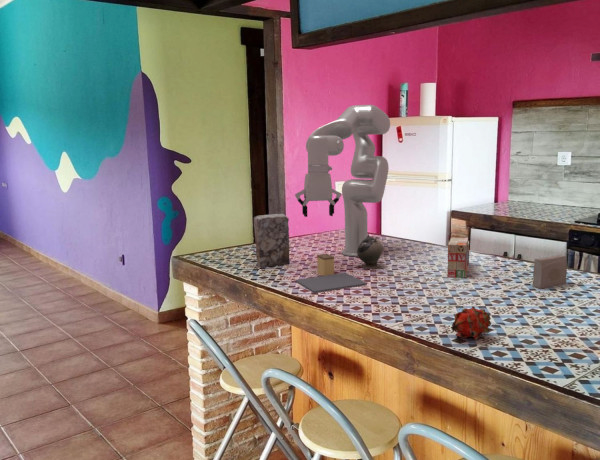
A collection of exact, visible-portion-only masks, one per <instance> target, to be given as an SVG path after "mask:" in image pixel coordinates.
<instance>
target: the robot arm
mask: <svg viewBox="0 0 600 460" xmlns="http://www.w3.org/2000/svg"><path fill="white" fill-rule="evenodd" d="M390 128H391V119H390V118H389V115H388V114H387V113H386V112H385V111H383V110H382V109H381V108H380V107H378V106H376V105H374V104H357V105H356V104H355V105H350V106H348V107H347V108H346V109H345V110H344V111H343V112H342V113H341V114H340V115H339V116H338V118H337V119H335V120H333V121H331V122H329V123H327V124H324V125H322V126H319V127H318V128H316V129H315V130H313V131H312V133H311V134H310V135H309V136H308V137H307V139H306V142H305V150H306V152H307V173H306V174H305V176H304V183H303V185H304V187H303V189H302V190H301V191H298V192H297V193H295V195H294V196H295V198H296V200H297V202H298V203H299V204H300V205H301V206H302V207H301V208H302V209H301V210H302V215H303V216H304V217H305V218H308V206H307V205H308V203H309V202H324V201H327V202H329V204H328V214H329V215H328V216H330V217H333V215H334V214H335V205H336V204H337V203H338V202H339V200H340V198H341V196H342V199H343V207H344V249H342V250H341V255H343V256H347V257H359V256H358V254H357V249H358V247H359V245H360V243H361V242H362V241H363V240H364V239H366V237H367V236H368V211H367V208H366V207H365V205H364V203H367V204H368V203H370V204H377V203H380V202H381V201H382V199H383V197H384V193H385V190H386V184H387V180H388V175H389V162H388V160H387V159H386V158H385V156H380V155H375V152H376V146H375V143H374V142H373V140H372V139H371V138H370V135H385V134H387V133H388V132H389V130H390ZM351 136H353V140H354V143H355V145H354V146H355V147H354V152H353V156H352V160H351V165H350V174H351V176H352V177H353V179H352V178H351V179H348V180H347V179H346V181H344V182H343V184H342V186H341V192H339V191H338V190H335V189H334V188H333V186H332V184H333V182H332V177H331V176H332V175H331V173H329V172H330V171H332V170H333V166H331V165H329V157H330V156H338V155H340V154H342V152H343V151H344V147H345V144H344V141H343V140H346V139H348V138H350V137H351ZM333 194H334V195H336V196H335V197H334V199H333ZM302 195H303V199H302V198H301V196H302Z"/></svg>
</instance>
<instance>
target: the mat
mask: <svg viewBox="0 0 600 460" xmlns="http://www.w3.org/2000/svg"><path fill="white" fill-rule="evenodd" d="M294 281H295V283H297V284H299V285H300V286H302V287H303V288H305V289H307V290H308V291H310V292H311V293H313V294H315V293H323V292H329V291H336V290H343V289H348V288H357V287H363V286H368V283H367V282H365V281H363V280H361V279H359V278H357V277H356V276H353V275H351V274H349V273H347V272H342V273H334V274H333V275H326V276H322V275H321V276H313V277H307V278H299V279H295V280H294Z"/></svg>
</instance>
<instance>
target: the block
mask: <svg viewBox="0 0 600 460" xmlns="http://www.w3.org/2000/svg"><path fill="white" fill-rule="evenodd" d="M316 258H317V259H316V262H317V274H319V275H321V276H326V275H333V274H335V256H333V255H331V254H328V253H320V254H317V255H316Z"/></svg>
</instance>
